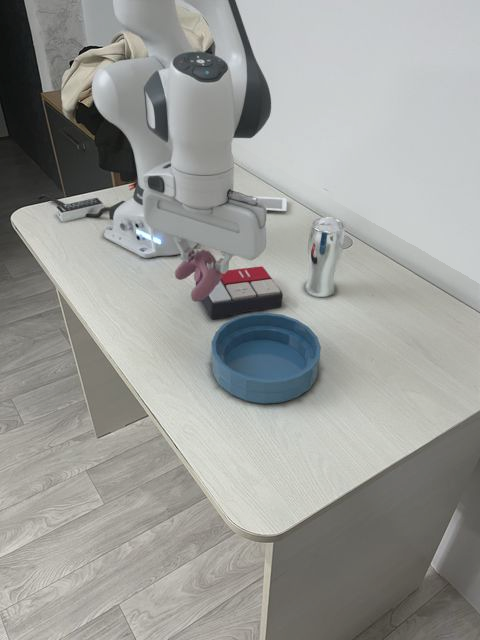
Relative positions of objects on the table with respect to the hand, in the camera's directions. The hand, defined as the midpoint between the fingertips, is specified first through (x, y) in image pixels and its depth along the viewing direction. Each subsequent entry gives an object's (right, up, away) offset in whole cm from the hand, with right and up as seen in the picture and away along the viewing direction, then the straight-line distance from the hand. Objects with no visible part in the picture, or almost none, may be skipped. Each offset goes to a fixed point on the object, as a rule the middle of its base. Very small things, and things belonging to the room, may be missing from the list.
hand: (204, 265), depth 87 cm
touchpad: (+8, +24, +57) cm, 63 cm away
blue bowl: (+10, -17, +8) cm, 21 cm away
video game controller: (-1, -3, +4) cm, 5 cm away
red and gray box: (+4, -3, +24) cm, 25 cm away
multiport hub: (-37, +21, +50) cm, 65 cm away
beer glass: (+21, -1, +28) cm, 35 cm away
